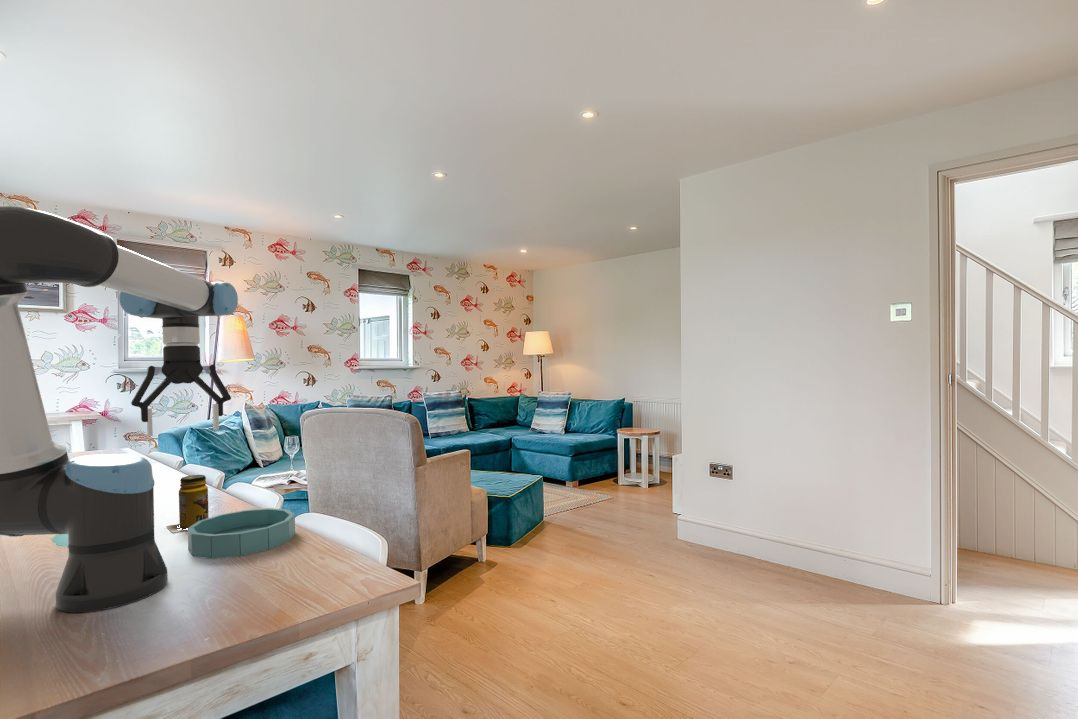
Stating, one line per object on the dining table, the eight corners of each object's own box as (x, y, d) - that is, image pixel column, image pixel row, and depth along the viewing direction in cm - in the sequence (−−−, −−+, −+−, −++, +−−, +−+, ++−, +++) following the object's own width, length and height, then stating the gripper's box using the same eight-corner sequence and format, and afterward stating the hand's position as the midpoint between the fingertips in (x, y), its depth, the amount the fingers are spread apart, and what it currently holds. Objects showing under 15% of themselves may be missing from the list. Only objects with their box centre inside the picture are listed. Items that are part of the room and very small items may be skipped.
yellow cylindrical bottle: (213, 525, 134) (212, 476, 134) (172, 533, 128) (171, 482, 128) (206, 519, 139) (204, 472, 139) (166, 527, 133) (164, 478, 133)
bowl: (305, 541, 119) (304, 520, 119) (198, 565, 106) (197, 542, 106) (279, 522, 134) (279, 503, 134) (183, 541, 121) (182, 521, 121)
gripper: (235, 345, 144) (237, 426, 144) (115, 346, 128) (118, 437, 128) (242, 344, 139) (244, 428, 138) (118, 344, 122) (120, 440, 122)
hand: (184, 432), depth 133 cm, fingers open, 13 cm apart
